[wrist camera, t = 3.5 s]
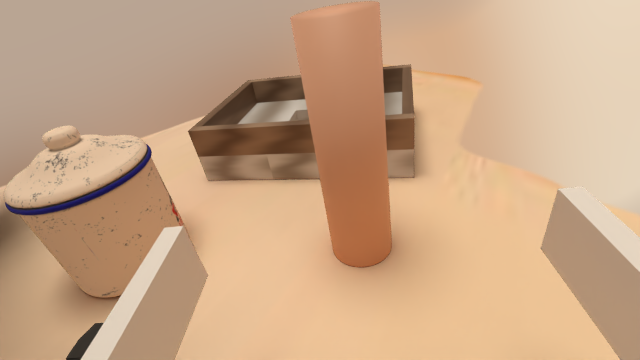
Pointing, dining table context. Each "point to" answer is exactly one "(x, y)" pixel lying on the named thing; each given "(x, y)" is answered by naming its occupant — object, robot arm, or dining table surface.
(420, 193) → the dining table surface
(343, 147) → the peg
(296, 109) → the box
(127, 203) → the teacup with lid
